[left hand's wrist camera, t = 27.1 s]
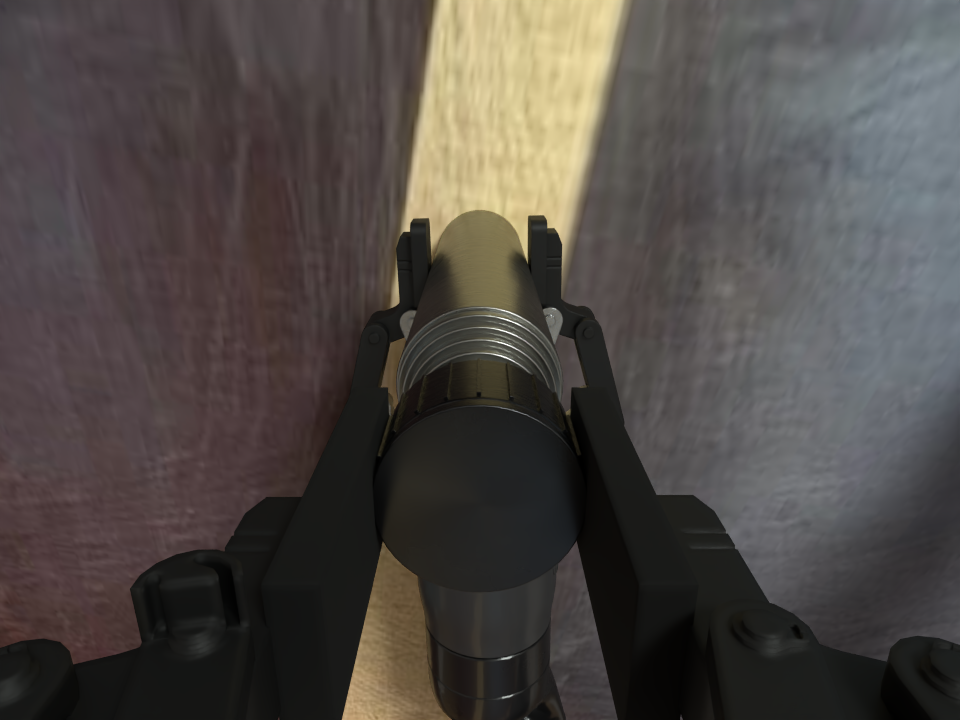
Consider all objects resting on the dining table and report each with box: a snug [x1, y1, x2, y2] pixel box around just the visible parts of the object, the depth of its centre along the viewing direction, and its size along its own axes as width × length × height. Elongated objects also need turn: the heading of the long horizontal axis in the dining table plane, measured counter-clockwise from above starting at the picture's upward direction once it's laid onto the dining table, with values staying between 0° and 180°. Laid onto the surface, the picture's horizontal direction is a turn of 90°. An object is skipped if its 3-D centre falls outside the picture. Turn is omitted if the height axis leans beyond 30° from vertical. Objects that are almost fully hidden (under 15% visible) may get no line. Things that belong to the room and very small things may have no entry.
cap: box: [373, 358, 587, 593], centre depth 14 cm, size 4×4×2 cm
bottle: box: [396, 210, 563, 403], centre depth 25 cm, size 5×5×25 cm
